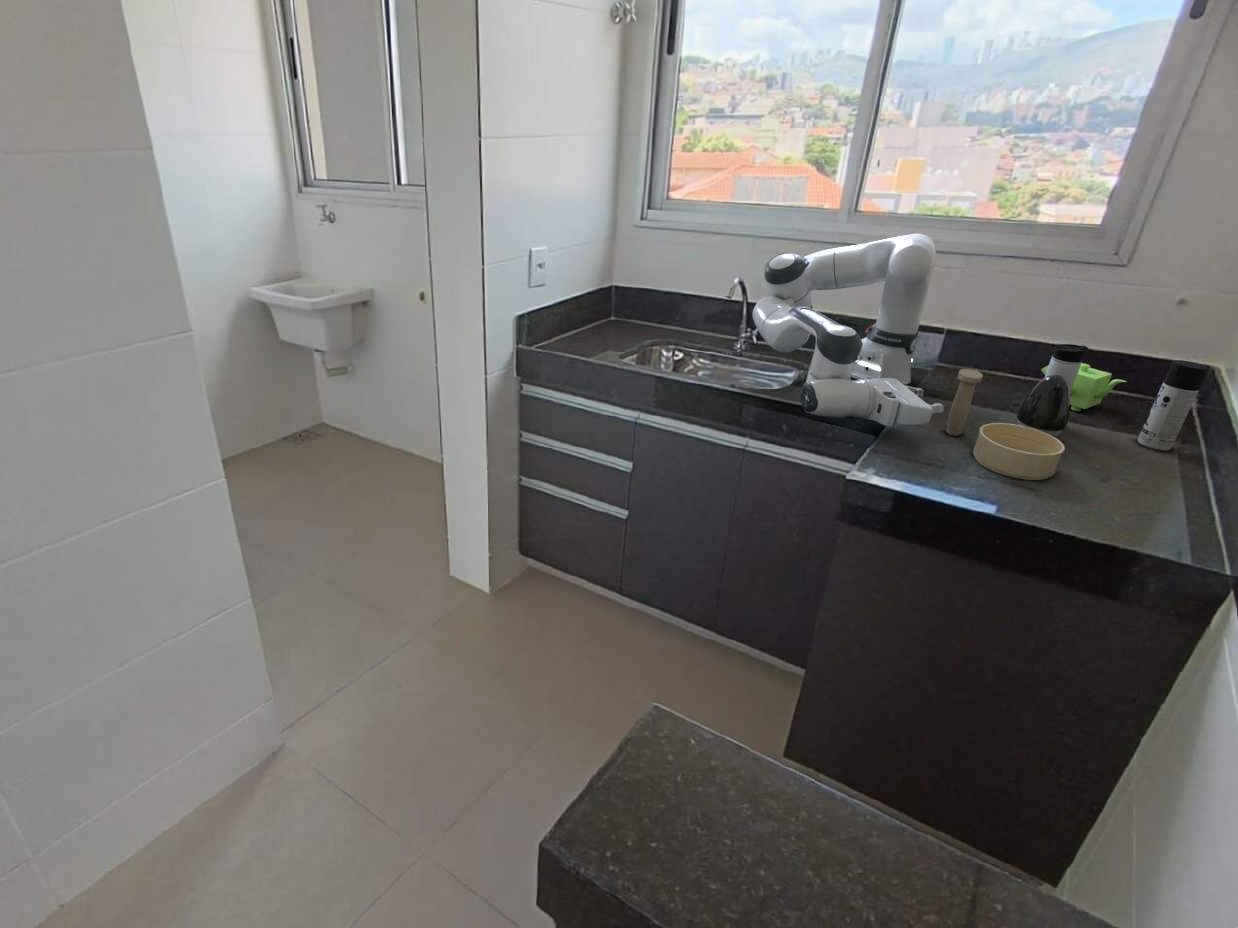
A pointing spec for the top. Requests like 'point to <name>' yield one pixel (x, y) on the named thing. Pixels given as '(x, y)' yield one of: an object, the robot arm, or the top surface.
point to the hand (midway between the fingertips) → (931, 400)
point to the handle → (962, 400)
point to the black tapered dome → (1047, 406)
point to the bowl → (1018, 451)
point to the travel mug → (1066, 362)
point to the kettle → (1089, 387)
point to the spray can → (1172, 404)
